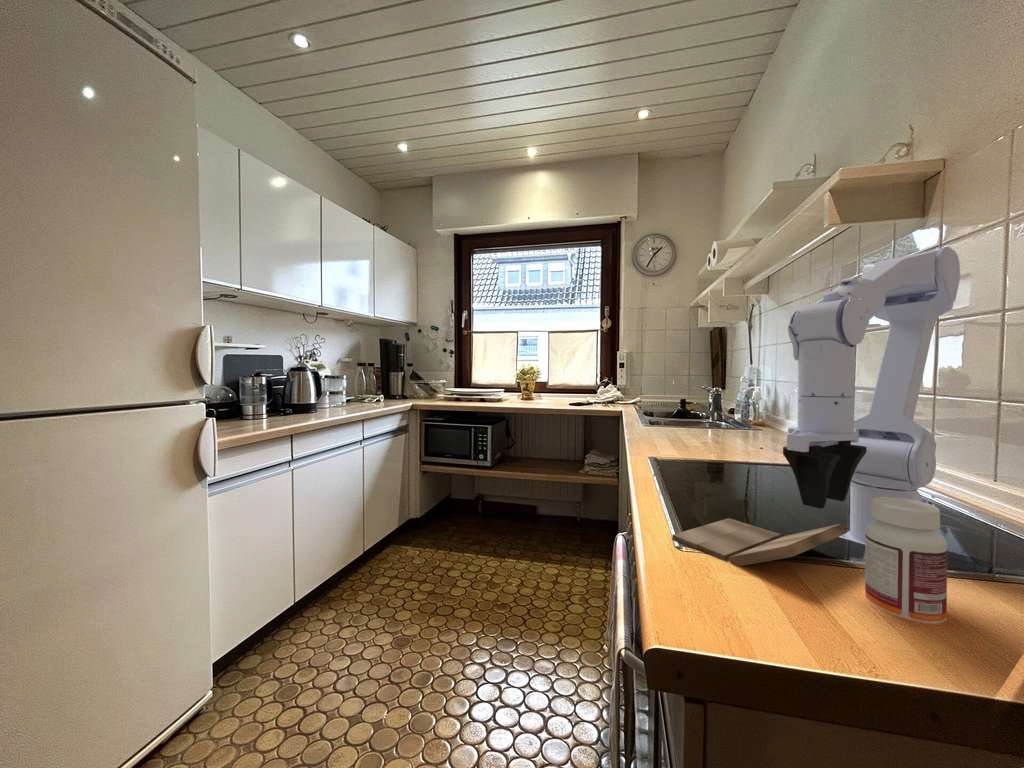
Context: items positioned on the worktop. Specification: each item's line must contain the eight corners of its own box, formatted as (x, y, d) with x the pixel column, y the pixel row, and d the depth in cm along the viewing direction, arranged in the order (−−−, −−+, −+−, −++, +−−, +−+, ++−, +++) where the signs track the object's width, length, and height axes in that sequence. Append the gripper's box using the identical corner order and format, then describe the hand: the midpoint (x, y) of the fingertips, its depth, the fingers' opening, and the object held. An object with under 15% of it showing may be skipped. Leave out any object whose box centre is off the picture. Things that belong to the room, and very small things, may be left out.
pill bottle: (945, 611, 42) (947, 503, 42) (947, 637, 38) (949, 518, 38) (867, 589, 47) (868, 491, 47) (861, 611, 43) (862, 503, 42)
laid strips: (728, 525, 67) (728, 518, 67) (785, 543, 60) (785, 535, 60) (672, 542, 60) (672, 534, 60) (728, 566, 53) (729, 557, 53)
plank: (789, 544, 59) (784, 535, 60) (847, 532, 53) (841, 523, 54) (732, 567, 52) (728, 557, 53) (792, 556, 46) (786, 545, 47)
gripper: (816, 393, 59) (815, 487, 59) (761, 396, 52) (760, 503, 52) (879, 395, 53) (877, 499, 53) (826, 399, 45) (825, 519, 46)
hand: (824, 502), depth 52 cm, fingers open, 5 cm apart
